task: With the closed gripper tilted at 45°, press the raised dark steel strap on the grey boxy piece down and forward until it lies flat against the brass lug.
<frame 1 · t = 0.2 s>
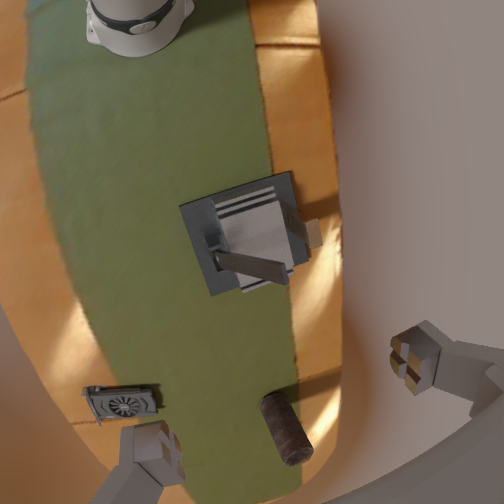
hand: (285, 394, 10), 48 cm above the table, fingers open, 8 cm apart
candle: (272, 399, 76), on the table
graphics card: (122, 400, 66), on the table
grey boxy piece: (245, 235, 59), on the table
retention strap: (247, 265, 47), point 12 cm above the table, hinge at 60.0°
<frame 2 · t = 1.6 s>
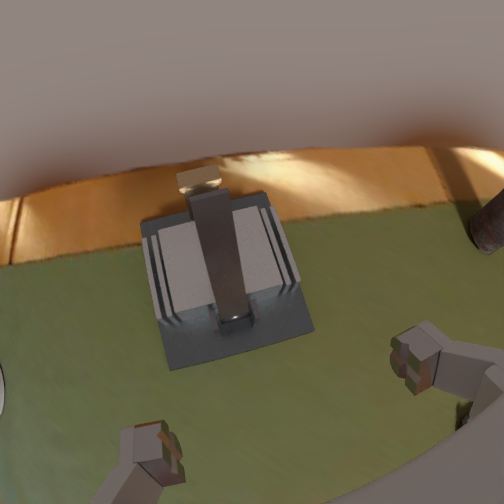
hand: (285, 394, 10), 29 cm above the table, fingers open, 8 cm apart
candle: (480, 236, 46), on the table
grey boxy piece: (222, 280, 41), on the table
retention strap: (223, 266, 29), point 12 cm above the table, hinge at 60.0°
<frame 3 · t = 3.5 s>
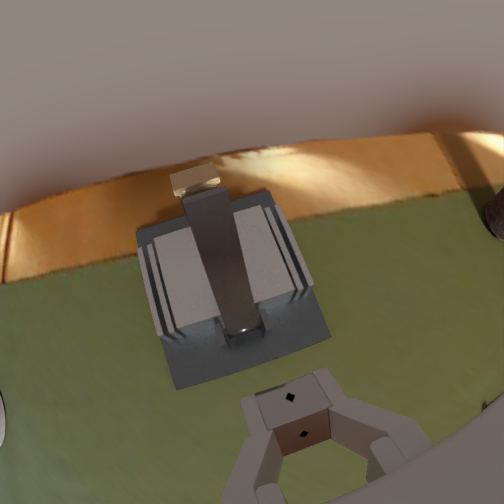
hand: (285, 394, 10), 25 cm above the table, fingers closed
candle: (495, 223, 42), on the table
grey boxy piece: (227, 288, 38), on the table
retention strap: (227, 276, 25), point 12 cm above the table, hinge at 60.0°
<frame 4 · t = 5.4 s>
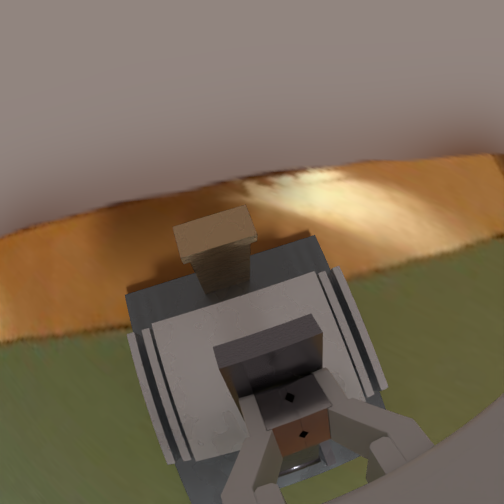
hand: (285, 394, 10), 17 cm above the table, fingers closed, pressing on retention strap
grey boxy piece: (260, 381, 25), on the table
retention strap: (286, 430, 13), point 12 cm above the table, hinge at 58.7°, touching gripper
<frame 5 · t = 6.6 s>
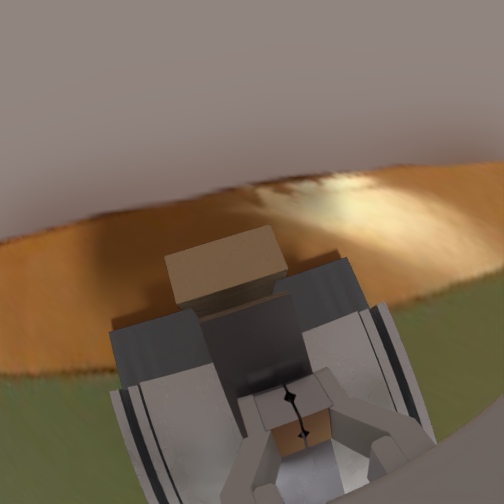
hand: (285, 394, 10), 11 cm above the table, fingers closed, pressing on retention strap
grey boxy piece: (279, 439, 19), on the table
retention strap: (298, 471, 11), point 9 cm above the table, hinge at 23.5°, touching gripper
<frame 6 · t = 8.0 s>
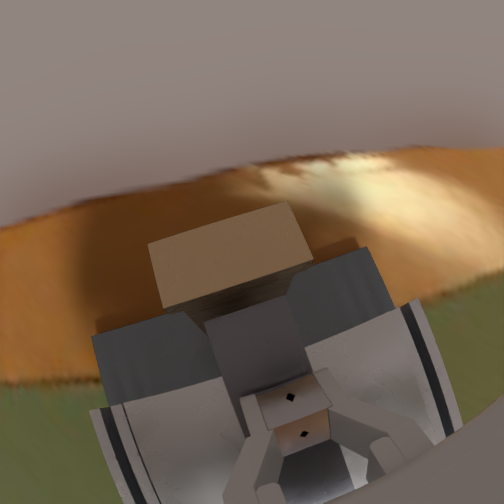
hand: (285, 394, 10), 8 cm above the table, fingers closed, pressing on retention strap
grey boxy piece: (291, 458, 16), on the table
retention strap: (309, 485, 9), point 7 cm above the table, hinge at 4.4°, touching gripper
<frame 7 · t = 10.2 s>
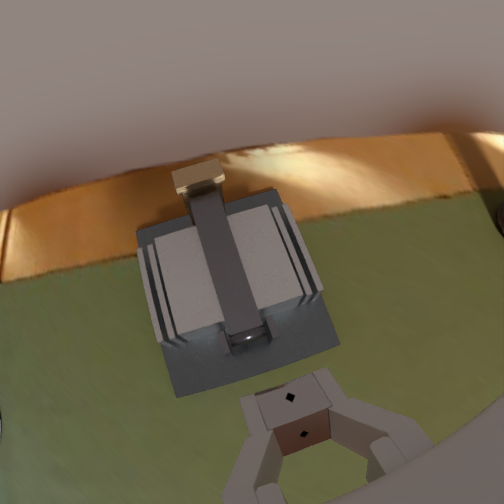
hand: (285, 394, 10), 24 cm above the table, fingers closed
grey boxy piece: (231, 292, 36), on the table
retention strap: (224, 264, 29), point 7 cm above the table, hinge at 4.4°
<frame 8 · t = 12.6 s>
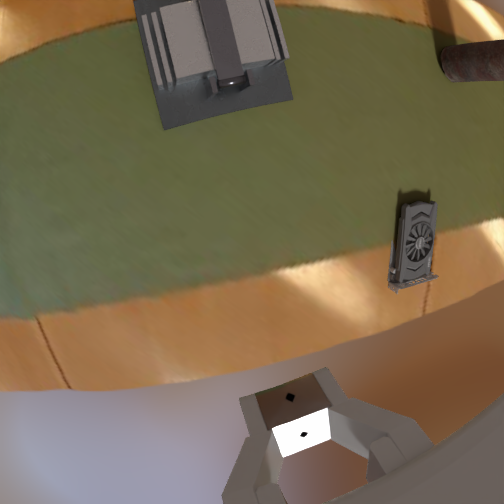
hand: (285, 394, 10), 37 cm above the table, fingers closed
candle: (448, 64, 45), on the table
graphics card: (412, 241, 57), on the table
grey boxy piece: (213, 49, 37), on the table
retention strap: (219, 30, 30), point 7 cm above the table, hinge at 4.4°
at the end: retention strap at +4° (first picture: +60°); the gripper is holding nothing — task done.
